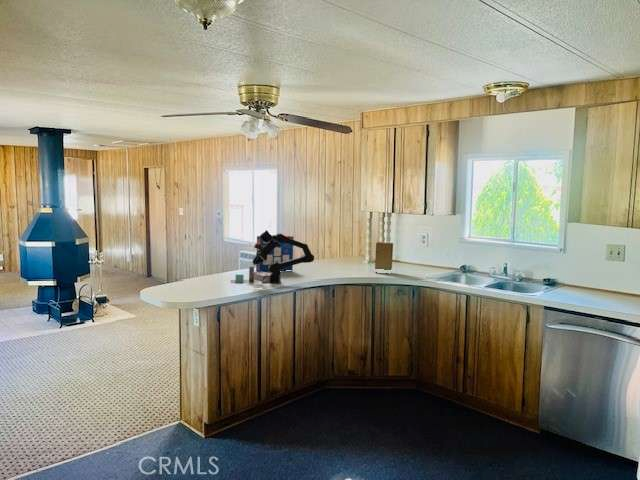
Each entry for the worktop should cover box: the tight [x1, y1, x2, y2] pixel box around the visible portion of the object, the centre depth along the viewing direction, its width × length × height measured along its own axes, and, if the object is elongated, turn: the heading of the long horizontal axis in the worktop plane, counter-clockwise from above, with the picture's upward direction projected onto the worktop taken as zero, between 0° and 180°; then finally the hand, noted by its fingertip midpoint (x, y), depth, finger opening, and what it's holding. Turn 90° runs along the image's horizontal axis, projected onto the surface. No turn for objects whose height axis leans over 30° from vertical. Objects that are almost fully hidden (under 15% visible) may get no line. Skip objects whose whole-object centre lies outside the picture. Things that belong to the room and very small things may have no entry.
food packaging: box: [374, 241, 394, 270], centre depth 390 cm, size 13×9×25 cm
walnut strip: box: [229, 266, 260, 284], centre depth 325 cm, size 19×12×11 cm, turn 102°
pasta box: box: [255, 235, 295, 273], centre depth 378 cm, size 28×8×28 cm, turn 121°
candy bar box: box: [254, 271, 272, 283], centre depth 338 cm, size 11×5×16 cm
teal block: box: [235, 273, 245, 282], centre depth 324 cm, size 5×5×5 cm
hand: (253, 263), depth 325 cm, fingers open, 9 cm apart
